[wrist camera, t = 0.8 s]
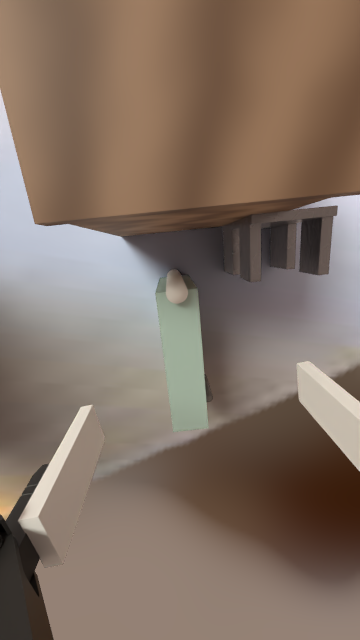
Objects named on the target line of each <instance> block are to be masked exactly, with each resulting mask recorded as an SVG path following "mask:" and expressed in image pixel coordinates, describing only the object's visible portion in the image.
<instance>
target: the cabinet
mask: <svg viewBox="0 0 360 640" xmlns="http://www.w3.org/2000/svg"><path fill="white" fill-rule="evenodd" d="M0 89H1V93H2V97H3V101H4V105H5V109H6V113H7V117H8V121H9V124H10V128H11V132H12V136H13V140H14V144H15V148H16V152H17V156H18V160H19V164H20V167H21V171H22V175H23V179H24V183H25V187H26V191H27V195H28V199H29V203H30V206H31V210H32V214H33V218H34V222H35V224H38V225H44V226H52V225H62V224H71V225H75V226H80V227H84V228H88V229H92V230H96V231H100V232H104V233H108V234H113V235H117V236H121V237H122V236H132V235H142V234H151V233H161V232H171V231H181V230H191V229H201V228H210V227H220V226H224V225H227V224H229V223H232V222H234V221H236V220H239V219H241V218H244V217H246V216H249V215H251V214H259V213H269V212H279V211H289V210H292V209H295V208H299V207H302V206H305V205H308V204H311V203H315V202H318V201H321V200H324V199H327V198H331V197H340V196H350V195H360V0H0Z"/></svg>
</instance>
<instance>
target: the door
mask: <svg viewBox="0 0 360 640" xmlns="http://www.w3.org/2000/svg"><path fill="white" fill-rule="evenodd" d="M155 294H156V302H157V309H158V317H159V325H160V333H161V340H162V348H163V356H164V363H165V371H166V379H167V387H168V394H169V402H170V410H171V417H172V425H173V432H179V431H188V430H197V429H205V428H208V416H207V403H206V402H210V401H211V400H212V399H213V396H212V393H211V389H210V386H209V383H208V379H207V376H206V374H204V364H203V351H202V338H201V325H200V312H199V299H198V288H197V287H196V286H195V284H194V283H193V281H192V280H191V279H190V277H189V276H188V275H183V276H181V274H180V272H179V271H178V270H176V269H172V270H170V271H169V272H168V274H167V277H164V278H160V279H159V283H158V286H157V289H156V293H155Z"/></svg>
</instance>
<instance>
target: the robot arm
mask: <svg viewBox="0 0 360 640" xmlns="http://www.w3.org/2000/svg"><path fill="white" fill-rule="evenodd" d="M297 377H298V393H299V401H300V402H301V403H302V404H303V406H304V407H305V408H306V409H307V410H308V411H309V413H310V414H311V415H312V416H313V417H314V419H315V420H316V421H317V422H318V423H319V424H320V425H321V427H322V428H323V429H324V430H325V431H326V433H327V434H328V435H329V436H330V437H331V438H332V440H333V441H334V442H335V443H336V444H337V445H338V446H339V448H340V449H341V450H342V451H343V453H344V454H345V455H346V456H347V457H348V458H349V460H350V461H351V462H352V463H353V464H354V465H355V466H356V468H357V469H358V470H359V471H360V402H359V401H358V400H356V399H355V398H354V397H353V396H351V395H350V394H349V393H348V392H346V391H345V390H344V389H343V388H341V387H340V386H339V385H338V384H336V383H335V382H334V381H333V380H332V379H330V378H329V377H328V376H327V375H325V374H324V373H323V372H322V371H320V370H319V369H318V368H317V367H315V366H314V365H313V364H312V363H311V362H309V361H306V362H301V363H297ZM104 441H105V437H104V434H103V431H102V429H101V426H100V423H99V420H98V418H97V415H96V412H95V409H94V407H93V405H88V406H83V407H81V408H80V410H79V412H78V413H77V415H76V417H75V419H74V421H73V422H72V424H71V426H70V428H69V430H68V431H67V433H66V435H65V437H64V439H63V440H62V442H61V444H60V446H59V448H58V449H57V451H56V453H55V455H54V457H53V458H52V460H51V462H50V464H46V465H42V466H41V467H40V468H39V469H38V471H37V472H36V473H35V474H34V475H33V476H32V478H31V480H30V481H29V483H28V485H27V487H26V488H25V490H24V491H23V493H22V496H21V497H20V498H19V500H18V501H17V503H16V505H15V506H14V508H13V510H12V511H11V513H10V515H9V516H8V518H7V520H6V521H5V520H4V519H3V517H2V515H0V640H54V639H53V635H52V631H51V627H50V624H49V620H48V616H47V612H46V608H45V604H44V600H43V596H42V592H41V588H40V584H39V581H38V576H37V574H36V573H35V568H36V566H37V563H38V561H39V559H40V560H41V562H42V564H43V565H44V567H45V568H47V567H52V566H58V565H63V564H64V561H65V558H66V555H67V552H68V549H69V546H70V543H71V540H72V537H73V534H74V531H75V528H76V525H77V522H78V519H79V516H80V513H81V510H82V507H83V504H84V501H85V498H86V495H87V492H88V489H89V486H90V483H91V480H92V477H93V474H94V471H95V468H96V465H97V462H98V459H99V456H100V453H101V450H102V447H103V444H104Z"/></svg>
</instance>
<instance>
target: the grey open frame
mask: <svg viewBox="0 0 360 640" xmlns="http://www.w3.org/2000/svg"><path fill="white" fill-rule="evenodd" d="M337 208H338V206H328V207H319V208H309V209H299V210H289V211H279V212H269V213H259V214H251V215H249V216H246V217H244V218H241V219H239V220H236V221H234V222H232V223H229V224H227V225H224V226H222V230H223V253H224V271H225V272H227V273H230V274H232V275H238V274H240V278H242V279H244V280H247V281H249V282H257V281H261V229H262V228H271V234H270V266H271V267H276V268H282V269H295V248H296V223H301V222H302V225H301V247H300V268H299V272H304V273H309V274H315V275H324V274H328V273H329V260H330V248H331V236H332V224H333V216H336V215H337Z"/></svg>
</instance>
